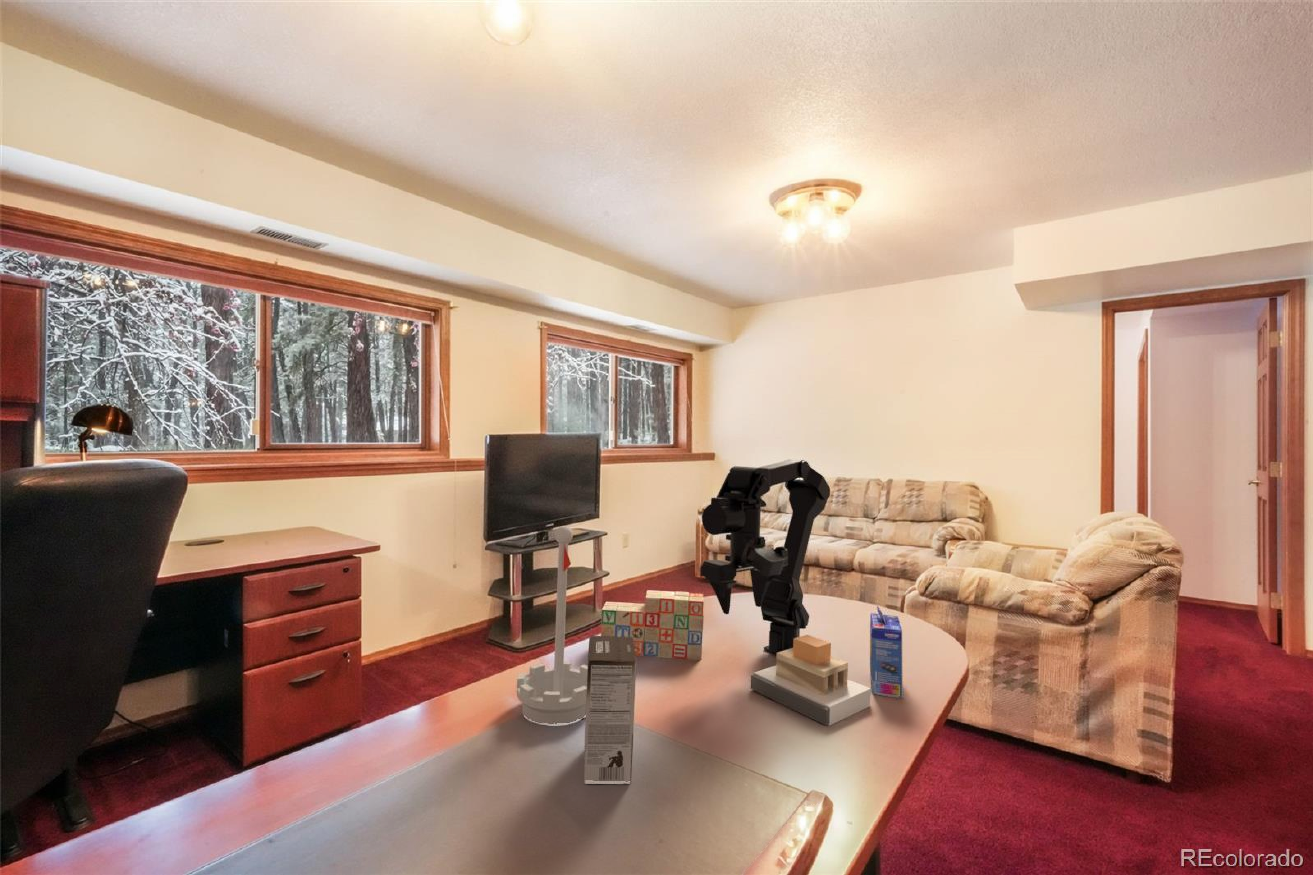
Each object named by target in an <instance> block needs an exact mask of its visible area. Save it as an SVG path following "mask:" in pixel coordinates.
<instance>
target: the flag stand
mask: <svg viewBox="0 0 1313 875" xmlns="http://www.w3.org/2000/svg"><path fill="white" fill-rule="evenodd" d="M573 534H574V532H573V530H572V529H571V527H569V526H567V525H562V526H559V527H558V528H557V529H556V530H555V532H554V539H555V540H556V541H557V542H558V560H557V583H556V584H557V585H556V586H557V587H556V588H557V589H556V605H555V606H556V609H555V610H556V611H555V637H554V657H553V658H554V660H553V661H554V662H553V663H554V664H553V668H546V667H545V666H546V665H545V664H544V663H538V664H535V665H532V666H529V673H526V672H520V673H519V675H518V676H517V678H516V698H517V699H518V701H520V702H521V703H522V715H523V714H524V715H525V716H526V717H527V718H528V719H531V720H532V721H535V722H538V723H548V724H554V723H555V724H557V723H570V722H573V721H576V720H577V719H581V718H583V717H584V716H585V715H586V691H587V668H588V664H587V665H586V664H582V665H580V667H579V668H580V669H576V668H572V661H565V638H566V634H565V633H566V615H567V614H566V613H567V612H566V611H567V609H566V608H567V588H568V587H567V586H568V585H567V584H568V568H569V567H570V566H571V565H572V563H571V560H570V557H569V543H570V542H571V541H572V540H573V537H574V535H573Z"/></svg>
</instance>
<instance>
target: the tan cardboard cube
mask: <svg viewBox="0 0 1313 875" xmlns="http://www.w3.org/2000/svg"><path fill="white" fill-rule="evenodd" d="M831 648H832V642H829V641H827V640H824V639H821V638H819V637H815V636H813V635H810V634H804V635H800V637H798V638H794V642H793V656H796V657H798V658H801V659H803V660H806V661H808V662H811V663H813V664H816V665H817V664H820V663H823V662H826V661H829V660H830V657H832V654H831V650H832V649H831Z"/></svg>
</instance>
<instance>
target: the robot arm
mask: <svg viewBox="0 0 1313 875" xmlns="http://www.w3.org/2000/svg"><path fill="white" fill-rule="evenodd" d="M782 483H785V484H784V488H786V490H787V492H788V493H789V496H788V502H789V505H790V507H791V511H792V513H791V518H790V521H789V525H788V529H787V533H786V536H785V541H784V544H783V546H777V547H776V548H773V547H768V546H766V545H767V544H766V539H765V536H761V535H760V534H761V510H762V508H765V507H767V503H766V502H765V500H764V499H762V496H764V495H766V494H767V493H769V492H770V491H771V487H774V486H776V485H779V484H782ZM830 496H831V489H830V486H829V483H828V482H827V481H826V479H825V478H824V475H823V474H821V473H819V472H818V471H816V470H815V469H814V468H812V467H811V465H810V464H809V462H808V461H807V460H804V459H794V458H792V459H791V458H787V459H784V461H780V462H776V463H772V464H767V465H763V466H762V465H761V466H759V467H753V466H752V467H751V466H736V465H734V466H732V467H731V468H730V469H729V472H728V473H727V474H726V477H725V478H724V481H723V483H722V484H721V488H720V489H719V491H718V493H717V496H716V497H711V498H710V504H708V505H707V506H706V507H704V510H703V512H702V514H701V524H702V526H703V528H704V530H705V531H706V532H707V533H708V534H709V535H712V536H718V535H724V534H725V540H727V541H729V554H726V555H725V554H724V560H721V559H710V560H704V561H703V562H702V563H701V564H700V573H699V574H700V575H699V576H701V577H704V579H705V580H706V581H708V582H709V584H710V586H711V588H712V589H713V591H714V594H715V596H716V598H717V600H718V603H719V606H720V608H721V610H722V613H723V614H724V615H729V614H730V610H731V609H730V608H731V599H732V588H733V586H735V584H736V583H737V582H738V581H737V580H735V578H736V576H737V573H740V572H747V571H750V572H749V573H750V579H751V586H752V587H751V588H752V593H753V595H752V596H753V600H754V604H755V607H758V608H760V610H761V615H762V621H768V622H769V631H768V645H765V646H763V650H764V651H766V652H770V653H772V654H774V655H775V656H777V653H778V652H781V651H784V650H787V649H791V648H793V642H794V638H798V637H801V635H800V634H801V633H800V631H801V630H800V629H803V630H804V629H807V626H808V625H809V620H810V614H809V612H808V611H807V609H806V607H805V606H804V604H803V600H804V599H803V598H804V594H803V589H802V587H801V586H802V585H801V583H800V579H801V574H802V570H803V565H804V562H805V558H806V554H807V551H808V546H809V542H810V538H811V533H812V529H813V527H814V522H815V519H816V518H817V517H818V516H819V515H820V514H821V513H822V512H823V511H824V510H825V507H826V505H827V502H828V500H829V498H830Z"/></svg>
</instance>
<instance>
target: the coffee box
mask: <svg viewBox="0 0 1313 875" xmlns="http://www.w3.org/2000/svg"><path fill="white" fill-rule="evenodd" d="M587 652H588V654H587V666H588V668H587V691H586V718H584V722H585V723H584V724H585V726H584V727H585V728H584V762H583V763H584V764H583V765H584V766H583V767H584V768H583V769H584V770H583V781H584V780H593V781H626V782H628V781H631V782H632V777H633V776H632V771H633V750H634V748H633V747H634V731H635V730H634V727H635V726H634V724H635V723H634V722H635V700H636V680H637V679H636V676H637V673H636V672H637V670H636V669H637V655H635V648H634V642H633V637H617V636H601V635H591V636H589V641H588V651H587Z"/></svg>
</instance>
